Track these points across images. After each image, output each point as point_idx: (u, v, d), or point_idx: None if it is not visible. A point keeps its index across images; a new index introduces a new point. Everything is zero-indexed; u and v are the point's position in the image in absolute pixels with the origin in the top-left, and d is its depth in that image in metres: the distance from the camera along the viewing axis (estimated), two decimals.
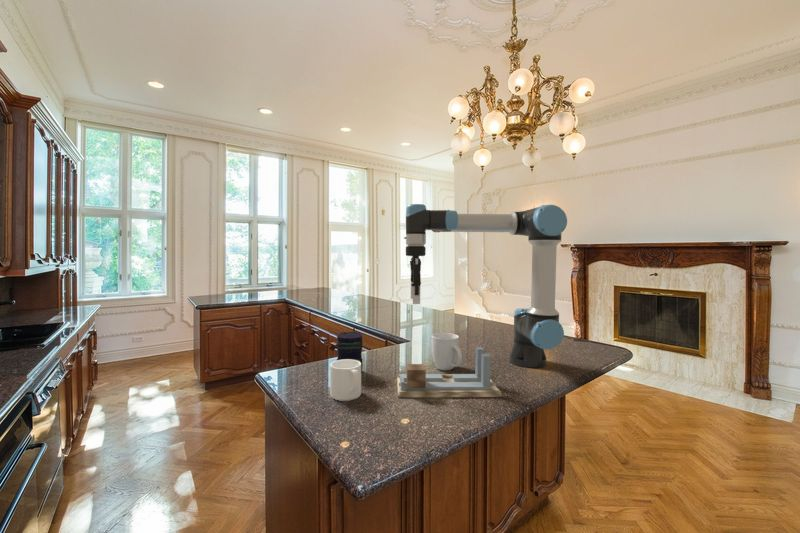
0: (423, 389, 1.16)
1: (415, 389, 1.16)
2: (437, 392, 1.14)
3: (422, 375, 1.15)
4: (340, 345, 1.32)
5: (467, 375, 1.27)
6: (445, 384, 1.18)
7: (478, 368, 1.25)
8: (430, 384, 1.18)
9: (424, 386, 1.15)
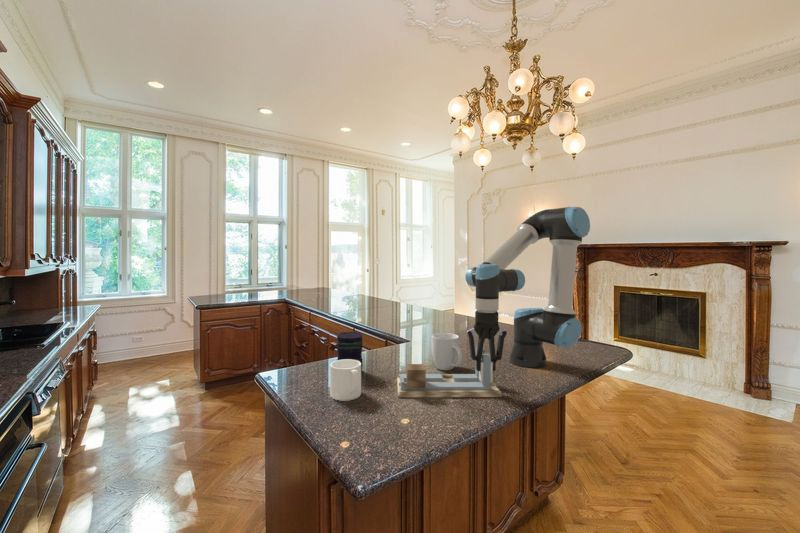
0: (423, 389, 1.16)
1: (415, 389, 1.16)
2: (437, 392, 1.14)
3: (422, 375, 1.15)
4: (340, 345, 1.32)
5: (467, 375, 1.27)
6: (445, 384, 1.18)
7: None
8: (430, 384, 1.18)
9: (424, 386, 1.15)
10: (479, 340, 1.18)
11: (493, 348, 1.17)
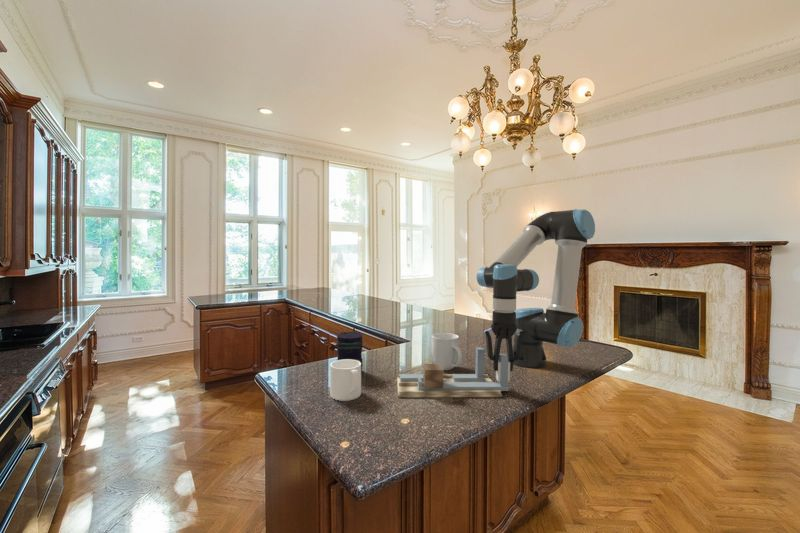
0: (441, 389, 1.16)
1: (433, 389, 1.16)
2: (437, 392, 1.14)
3: (440, 375, 1.15)
4: (340, 345, 1.32)
5: (467, 375, 1.27)
6: (462, 384, 1.18)
7: (478, 368, 1.25)
8: (447, 384, 1.18)
9: (442, 386, 1.15)
10: (496, 340, 1.18)
11: (510, 348, 1.17)
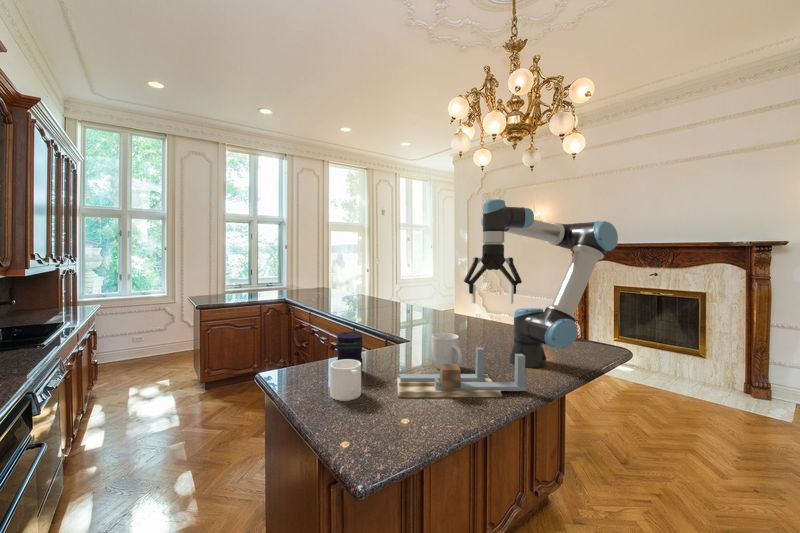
0: (458, 389, 1.16)
1: (450, 389, 1.16)
2: (437, 392, 1.14)
3: (457, 375, 1.15)
4: (340, 345, 1.32)
5: (467, 375, 1.27)
6: (479, 384, 1.19)
7: (478, 368, 1.25)
8: (464, 384, 1.18)
9: (459, 386, 1.15)
10: (481, 268, 1.26)
11: (508, 274, 1.25)
